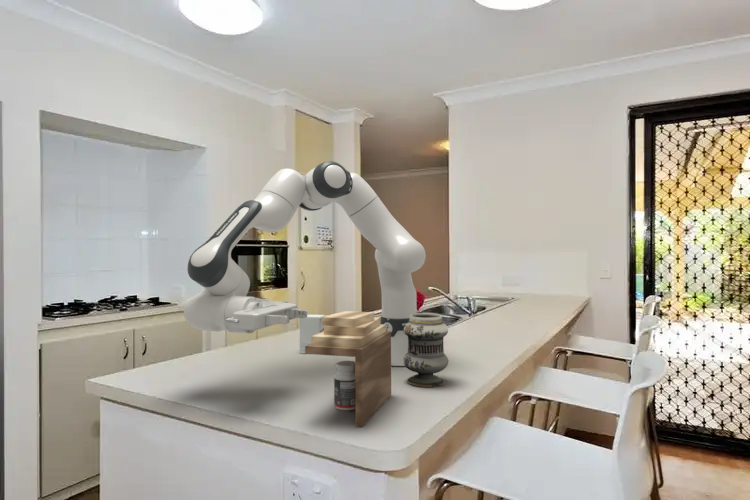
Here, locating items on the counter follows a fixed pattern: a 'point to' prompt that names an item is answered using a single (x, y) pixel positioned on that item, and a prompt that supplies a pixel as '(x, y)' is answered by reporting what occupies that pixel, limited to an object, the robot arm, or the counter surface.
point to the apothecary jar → (425, 349)
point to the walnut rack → (366, 373)
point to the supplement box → (309, 329)
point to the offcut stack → (349, 329)
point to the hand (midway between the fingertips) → (297, 317)
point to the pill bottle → (345, 386)
